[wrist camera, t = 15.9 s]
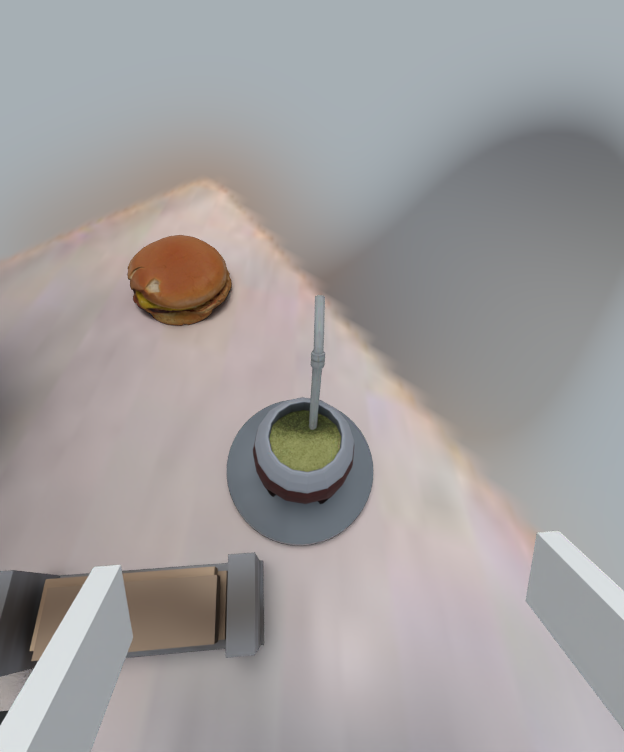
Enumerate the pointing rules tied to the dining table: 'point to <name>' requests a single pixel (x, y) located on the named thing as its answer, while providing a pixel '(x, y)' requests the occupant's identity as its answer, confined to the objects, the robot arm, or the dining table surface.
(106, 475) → the dining table surface
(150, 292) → the burger
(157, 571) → the offcut rack
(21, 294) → the dining table surface
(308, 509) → the slate coaster
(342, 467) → the mate gourd
